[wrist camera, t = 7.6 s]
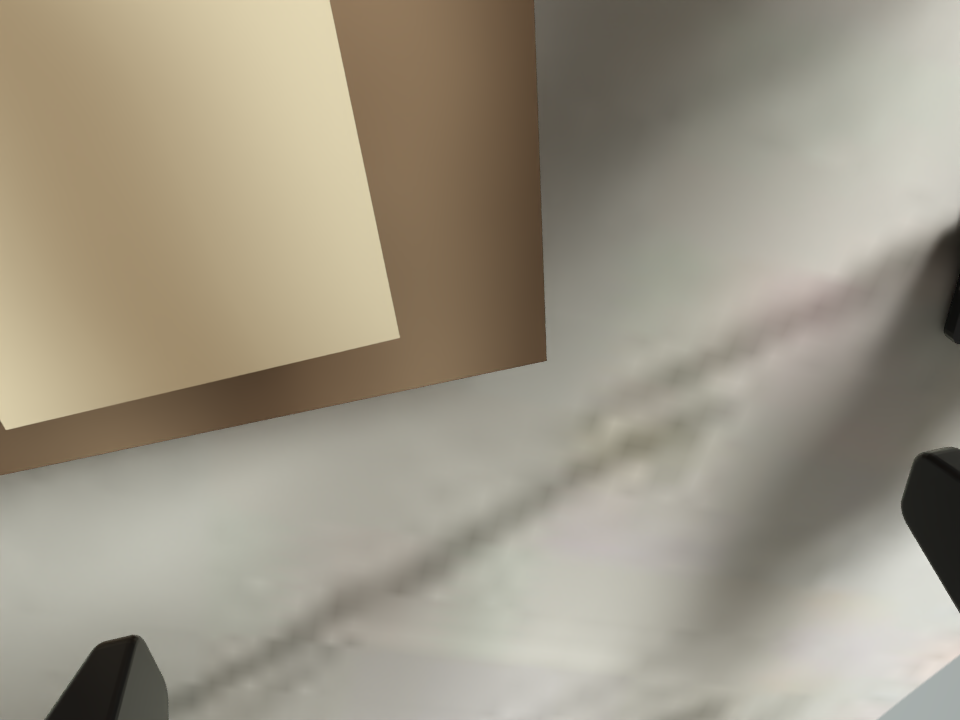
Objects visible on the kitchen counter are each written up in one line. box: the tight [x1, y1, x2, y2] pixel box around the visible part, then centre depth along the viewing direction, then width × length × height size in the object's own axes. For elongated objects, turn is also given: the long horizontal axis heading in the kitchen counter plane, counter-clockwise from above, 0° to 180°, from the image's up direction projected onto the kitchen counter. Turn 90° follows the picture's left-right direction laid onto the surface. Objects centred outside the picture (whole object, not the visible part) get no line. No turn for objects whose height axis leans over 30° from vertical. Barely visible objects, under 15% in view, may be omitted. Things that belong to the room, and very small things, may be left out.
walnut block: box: [0, 0, 547, 475], centre depth 14 cm, size 12×14×4 cm
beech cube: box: [0, 0, 400, 430], centre depth 11 cm, size 5×5×5 cm
